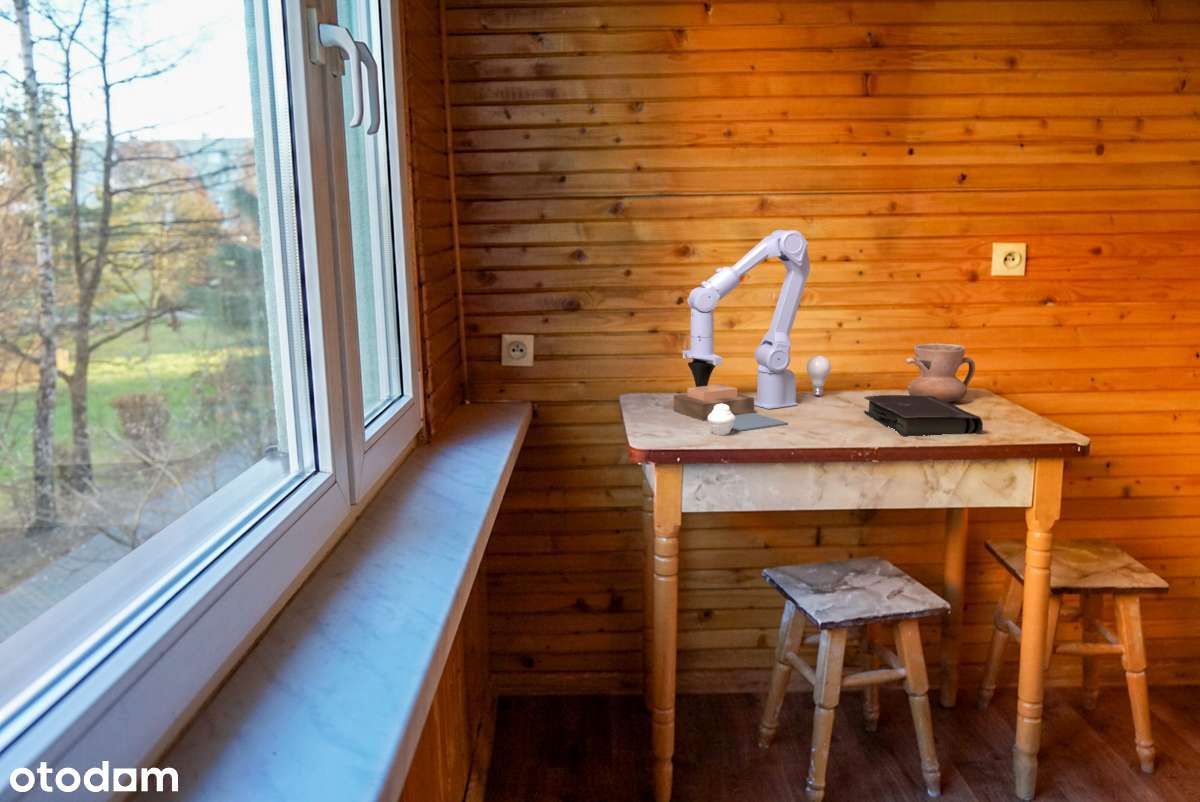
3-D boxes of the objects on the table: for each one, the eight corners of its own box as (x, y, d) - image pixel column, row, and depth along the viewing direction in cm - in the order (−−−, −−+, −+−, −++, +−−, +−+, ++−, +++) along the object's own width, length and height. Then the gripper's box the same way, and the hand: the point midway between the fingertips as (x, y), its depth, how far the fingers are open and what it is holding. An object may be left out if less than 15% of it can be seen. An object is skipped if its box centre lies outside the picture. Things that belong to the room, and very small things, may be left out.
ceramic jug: (912, 407, 234) (915, 350, 232) (895, 396, 249) (897, 342, 246) (984, 406, 234) (988, 350, 231) (963, 395, 248) (966, 342, 246)
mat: (753, 414, 228) (753, 412, 228) (788, 424, 217) (788, 422, 217) (706, 420, 222) (706, 419, 222) (738, 431, 210) (739, 429, 210)
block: (720, 391, 236) (720, 384, 236) (737, 396, 230) (737, 388, 230) (687, 395, 231) (687, 388, 231) (703, 400, 225) (703, 392, 225)
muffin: (738, 432, 210) (739, 401, 209) (730, 437, 205) (730, 406, 203) (712, 429, 213) (712, 399, 212) (703, 435, 208) (703, 404, 206)
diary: (934, 414, 230) (935, 394, 229) (982, 438, 205) (984, 415, 204) (859, 415, 228) (861, 394, 227) (899, 439, 204) (900, 416, 203)
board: (722, 404, 240) (723, 389, 239) (754, 413, 229) (754, 397, 228) (673, 411, 233) (673, 395, 232) (703, 420, 222) (703, 404, 221)
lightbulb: (802, 394, 252) (804, 353, 250) (826, 393, 253) (827, 353, 251) (809, 398, 246) (810, 357, 244) (833, 398, 247) (834, 356, 244)
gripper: (672, 334, 236) (672, 387, 239) (705, 340, 224) (704, 396, 227) (696, 332, 240) (695, 384, 242) (729, 338, 227) (728, 393, 230)
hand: (701, 390), depth 235 cm, fingers closed
